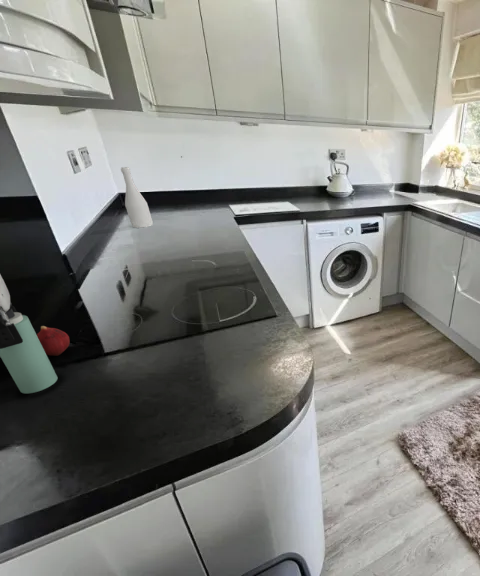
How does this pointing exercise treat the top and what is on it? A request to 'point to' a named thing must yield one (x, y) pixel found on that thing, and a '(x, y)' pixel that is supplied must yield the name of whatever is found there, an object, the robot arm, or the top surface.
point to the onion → (53, 340)
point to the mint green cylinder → (27, 358)
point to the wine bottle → (135, 203)
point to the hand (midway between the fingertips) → (11, 335)
